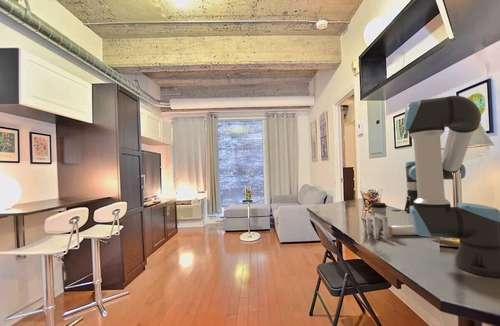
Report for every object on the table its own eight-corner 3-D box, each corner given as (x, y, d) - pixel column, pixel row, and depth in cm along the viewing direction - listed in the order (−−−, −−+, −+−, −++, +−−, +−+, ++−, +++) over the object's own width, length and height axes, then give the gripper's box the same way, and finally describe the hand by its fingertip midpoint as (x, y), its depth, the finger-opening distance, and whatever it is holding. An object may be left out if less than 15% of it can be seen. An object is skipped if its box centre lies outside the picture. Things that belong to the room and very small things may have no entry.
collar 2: (388, 238, 126) (387, 216, 126) (385, 238, 126) (384, 217, 126) (378, 232, 138) (377, 212, 138) (375, 232, 138) (374, 212, 138)
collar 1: (378, 238, 126) (377, 217, 127) (375, 238, 127) (374, 217, 127) (369, 232, 138) (368, 212, 139) (366, 232, 139) (365, 213, 139)
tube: (423, 233, 132) (422, 223, 133) (429, 236, 127) (428, 226, 127) (385, 234, 134) (384, 224, 135) (389, 236, 129) (389, 226, 129)
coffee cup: (384, 225, 153) (382, 202, 153) (391, 229, 143) (389, 204, 144) (368, 225, 153) (367, 202, 154) (374, 229, 144) (373, 204, 144)
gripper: (438, 191, 118) (440, 234, 118) (409, 186, 143) (411, 222, 143) (422, 192, 119) (424, 234, 119) (396, 187, 144) (398, 222, 143)
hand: (417, 227), depth 131 cm, fingers open, 13 cm apart
